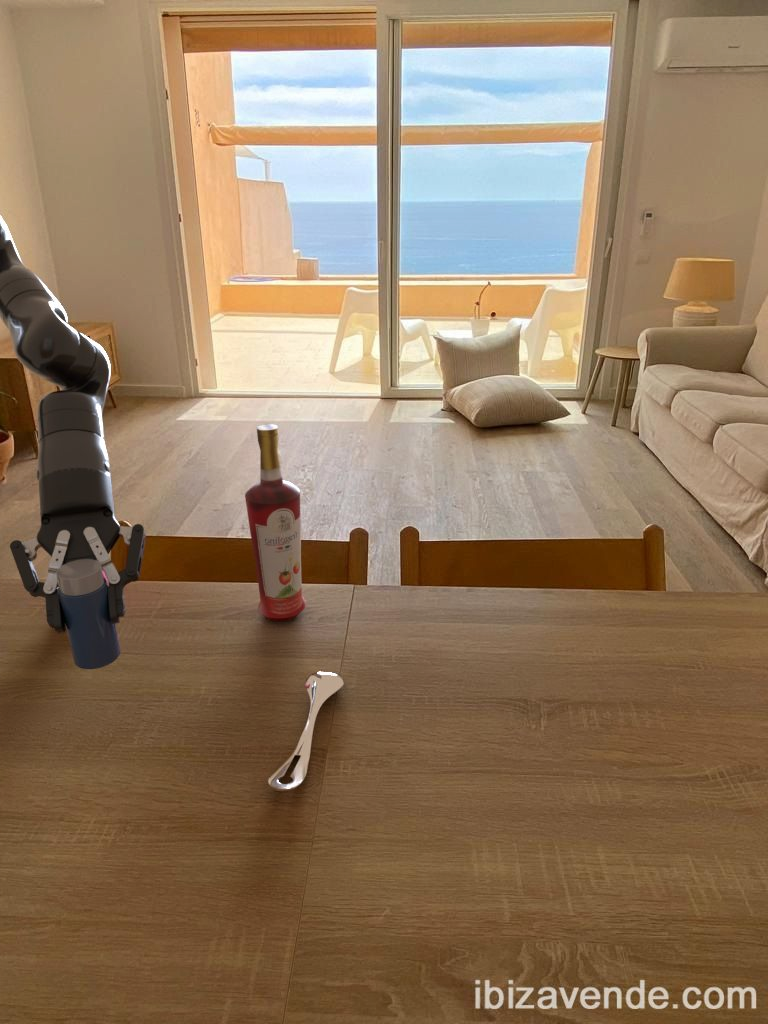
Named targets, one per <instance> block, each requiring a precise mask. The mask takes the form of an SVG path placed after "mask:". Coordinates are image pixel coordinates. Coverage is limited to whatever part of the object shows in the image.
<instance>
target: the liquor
mask: <svg viewBox="0 0 768 1024" xmlns="http://www.w3.org/2000/svg"><path fill="white" fill-rule="evenodd" d="M256 434H257V435H256V437H257V442H258V446H259V451H260V459H259V462H260V463H259V464H260V467H259V469H260V471H259V472H260V474H259V475H260V476H259V477H260V479H259V482H257V483H254V484H253V485H252V486H251V487H250V488H248V490H247V491H245V493H244V498H245V506H246V512H247V519H248V526H249V532H250V538H251V543H252V550H253V557H254V562H255V571H256V577H257V585H258V592H259V593H258V594H259V603H258V605H257V610H258V612H259V613H260V614H261V615H262V616H264V617H266V618H267V619H269V620H271V621H273V622H279V623H281V622H287V621H291V620H293V619H294V618H295V617H297V616H298V615H299V614H301V612H303V611H304V610H305V608H306V606H307V602H306V599H305V598H304V597H303V581H302V579H303V578H302V518H301V517H302V515H301V489H300V488H299V487H298V486H296V485H295V484H293V483H292V482H290V481H287V480H284V478H283V472H282V467H281V461H280V456H279V450H278V448H279V426H278V425H277V424H272V423H267V424H266V423H265V424H260V425H258V426H256Z"/></svg>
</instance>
